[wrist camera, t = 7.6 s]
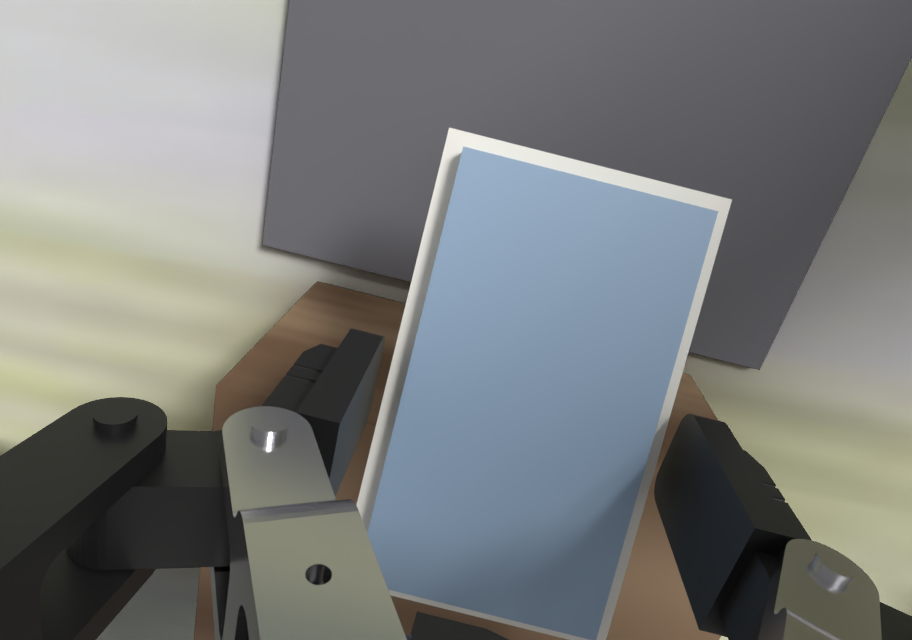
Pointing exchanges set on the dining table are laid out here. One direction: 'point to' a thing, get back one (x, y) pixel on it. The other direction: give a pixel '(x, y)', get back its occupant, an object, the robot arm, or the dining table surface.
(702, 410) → the walnut block
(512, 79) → the mat
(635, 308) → the card box
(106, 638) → the dining table surface
